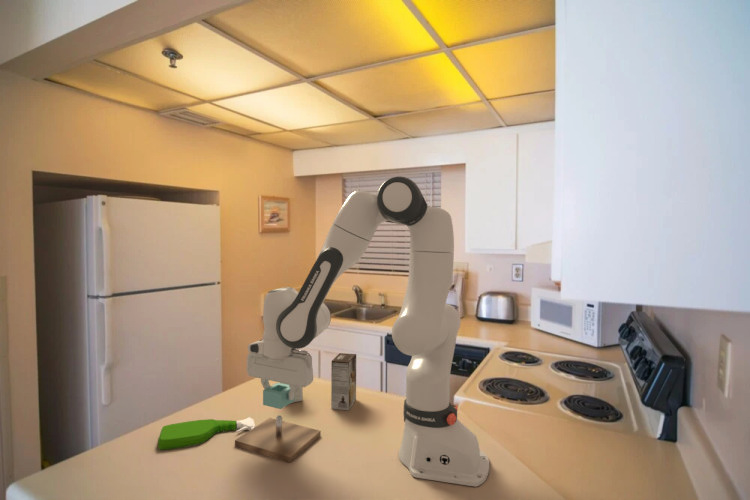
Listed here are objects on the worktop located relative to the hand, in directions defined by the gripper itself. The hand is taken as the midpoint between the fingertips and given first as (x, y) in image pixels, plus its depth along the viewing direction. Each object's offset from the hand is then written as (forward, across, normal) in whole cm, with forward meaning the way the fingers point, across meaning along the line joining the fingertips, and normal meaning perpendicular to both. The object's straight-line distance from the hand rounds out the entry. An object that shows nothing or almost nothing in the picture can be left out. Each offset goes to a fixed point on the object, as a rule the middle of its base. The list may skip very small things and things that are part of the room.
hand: (279, 396), depth 101 cm
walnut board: (+12, 0, 0) cm, 12 cm away
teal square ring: (+2, 0, 0) cm, 2 cm away
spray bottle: (+13, +20, +5) cm, 25 cm away
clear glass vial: (+11, 0, 0) cm, 11 cm away
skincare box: (+12, +14, -24) cm, 30 cm away
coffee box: (+12, -5, -28) cm, 31 cm away
